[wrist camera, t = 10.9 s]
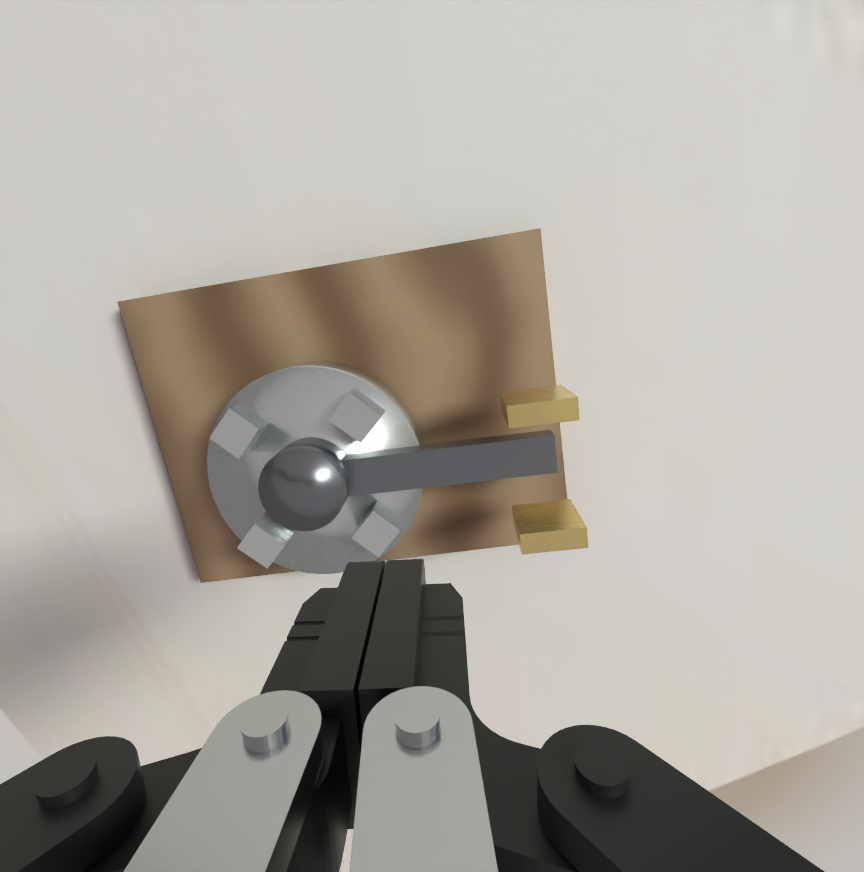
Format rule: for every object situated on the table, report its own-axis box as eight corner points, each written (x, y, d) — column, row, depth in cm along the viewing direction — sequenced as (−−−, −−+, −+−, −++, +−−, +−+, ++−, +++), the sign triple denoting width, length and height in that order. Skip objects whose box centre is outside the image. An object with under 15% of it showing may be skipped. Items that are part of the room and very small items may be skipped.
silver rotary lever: (205, 376, 29) (126, 397, 22) (544, 330, 28) (573, 337, 21) (251, 562, 32) (194, 633, 25) (560, 530, 30) (591, 596, 23)
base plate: (211, 571, 34) (199, 584, 33) (133, 302, 30) (115, 301, 28) (565, 527, 32) (571, 539, 31) (536, 232, 28) (540, 227, 26)
